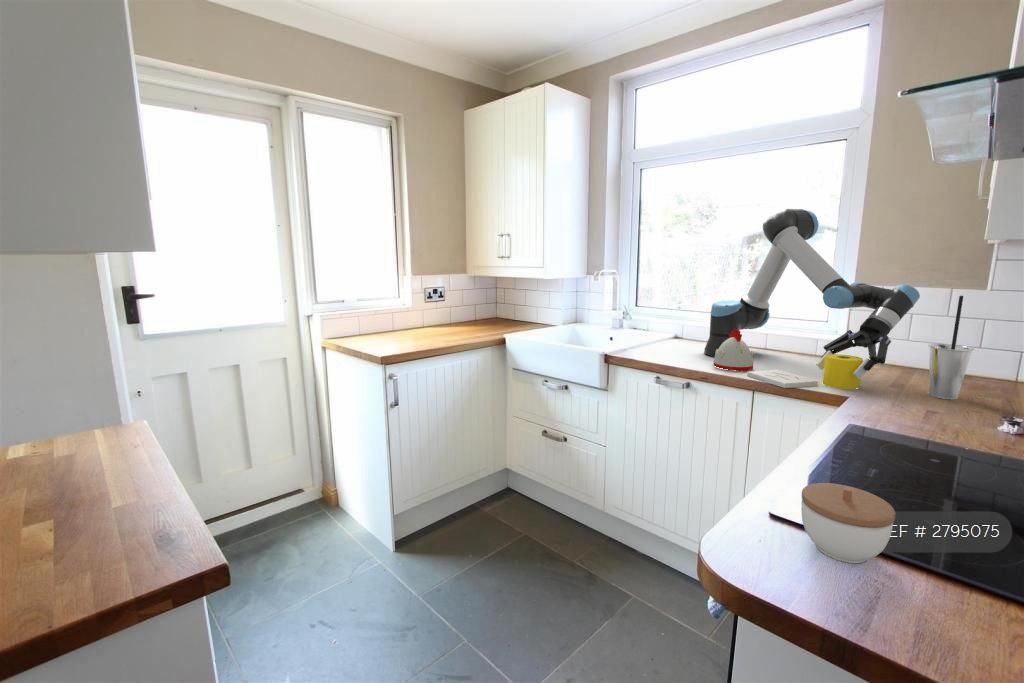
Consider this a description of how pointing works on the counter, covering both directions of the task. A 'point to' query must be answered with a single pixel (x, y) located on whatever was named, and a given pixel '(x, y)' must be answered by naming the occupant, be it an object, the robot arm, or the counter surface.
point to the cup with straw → (948, 365)
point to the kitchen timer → (734, 354)
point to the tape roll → (841, 371)
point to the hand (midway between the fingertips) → (836, 371)
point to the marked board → (782, 378)
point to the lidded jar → (846, 521)
